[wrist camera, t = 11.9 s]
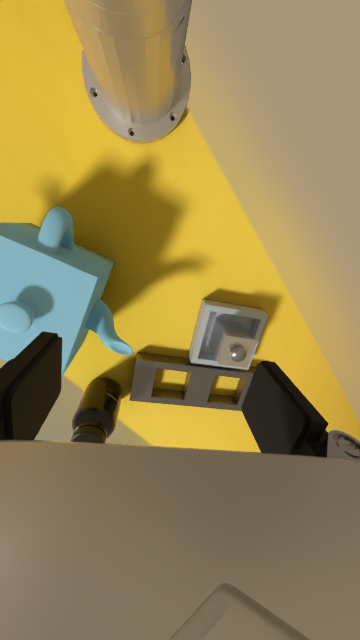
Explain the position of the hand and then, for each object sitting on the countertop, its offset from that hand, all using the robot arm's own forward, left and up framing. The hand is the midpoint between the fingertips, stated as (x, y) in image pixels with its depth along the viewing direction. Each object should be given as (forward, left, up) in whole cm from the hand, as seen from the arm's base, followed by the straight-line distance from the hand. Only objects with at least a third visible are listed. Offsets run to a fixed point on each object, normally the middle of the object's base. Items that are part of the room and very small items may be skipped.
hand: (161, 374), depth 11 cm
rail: (+20, +11, -28) cm, 36 cm away
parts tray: (+9, +14, -28) cm, 33 cm away
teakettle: (+6, -14, -28) cm, 32 cm away
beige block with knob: (+9, +14, -28) cm, 32 cm away
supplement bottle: (+25, -6, -28) cm, 38 cm away
